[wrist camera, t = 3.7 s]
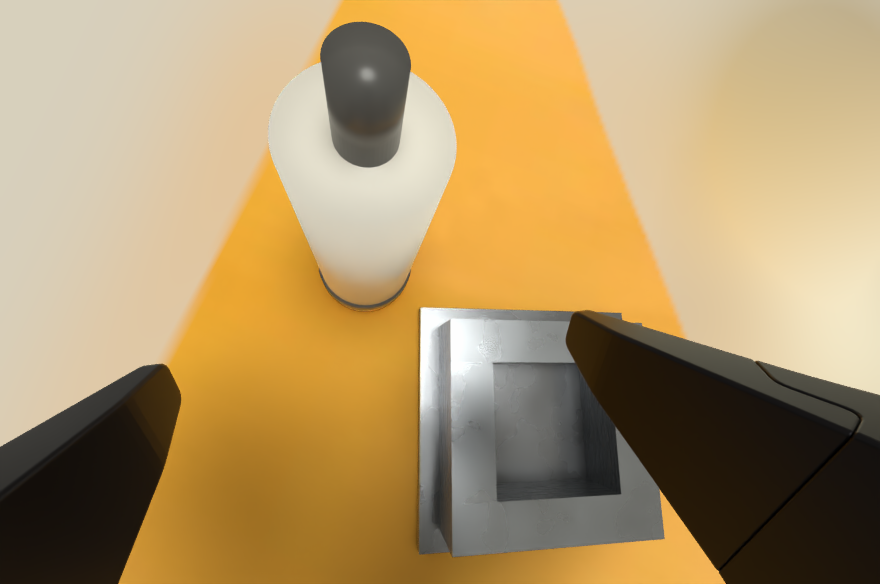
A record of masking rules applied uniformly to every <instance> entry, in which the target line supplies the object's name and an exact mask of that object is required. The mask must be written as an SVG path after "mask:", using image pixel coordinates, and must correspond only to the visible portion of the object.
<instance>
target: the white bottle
mask: <svg viewBox="0 0 880 584" xmlns="http://www.w3.org/2000/svg"><path fill="white" fill-rule="evenodd" d="M320 59H321V62H320V63H318V64H315V65H313V66H311V67H309V68H307V69H306V70H304V71H302V72H301V73H300V74H298V75H297V76H296V77H294V78H293V79H292V80H291V81H290V82H289V83H288V84H287V85H286V87H285V88H284V89H283V90H282V92H281V93H280V94H279V96H278V98H277V100H276V102H275V104H274V106H273V109H272V112H271V115H270V119H269V125H268V142H269V149H270V153H271V156H272V160H273V162H274V165H275V167H276V169H277V172H278V174H279V176H280V179H281V181H282V183H283V185H284V188H285V190H286V192H287V195H288V197H289V199H290V202H291V204H292V206H293V209H294V211H295V213H296V215H297V218H298V220H299V222H300V225H301V227H302V229H303V232H304V234H305V236H306V239H307V241H308V243H309V245H310V248H311V250H312V252H313V255H314V257H315V259H316V262H317V264H318V266H319V272H320V276H321V278H322V281H323V283H324V285H325V287H326V289H327V290H328V292H329V293H330V294H331V296H332V297H333V298H334V299H336V300H337V301H338V302H339V303H341V304H342V305H344V306H346V307H348V308H350V309H353V310H357V311H374V310H378V309H381V308H383V307H385V306H387V305H389V304H390V303H391V302H393V301H394V300H395V299H396V298H397V297H398V296H399V295H400V294H401V292H402V291H403V289H404V287H405V286H406V283H407V281H408V279H409V276H410V271H411V267H412V265H413V262H414V260H415V258H416V255H417V253H418V251H419V248H420V246H421V244H422V241H423V239H424V237H425V234H426V232H427V230H428V227H429V225H430V223H431V220H432V218H433V216H434V213H435V211H436V209H437V206H438V204H439V202H440V199H441V197H442V195H443V192H444V190H445V188H446V185H447V183H448V181H449V178H450V176H451V173H452V170H453V168H454V163H455V158H456V147H457V145H456V135H455V130H454V126H453V123H452V120H451V117H450V115H449V113H448V111H447V109H446V107H445V105H444V104H443V102H442V101H441V99H440V98H439V96H438V95H437V94H436V93H435V92H434V91H433V89H432V88H431V87H430V86H429V85H428V84H426V83H425V82H424V81H423V80H422V79H420V78H419V77H418V76H416V75H415V74H414V73H412V72H410V70H411V61H410V56H409V53H408V51H407V49H406V47H405V45H404V44H403V42H402V41H401V40H400V39H399V38H398V37H397V36H396V35H395V34H394V33H392V32H391V31H390V30H388V29H386V28H384V27H382V26H380V25H377V24H373V23H368V22H352V23H348V24H344V25H342V26H339V27H338V28H336V29H334V30H333V31H332V32H331V33H330V34H329V35H328V36H327V37H326V39H325V40H324V42H323V44H322V48H321V53H320Z"/></svg>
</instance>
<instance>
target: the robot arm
mask: <svg viewBox="0 0 880 584" xmlns="http://www.w3.org/2000/svg"><path fill="white" fill-rule="evenodd" d="M565 342H566V346H567V349H568V351H569V353H570V354H571V356H572V358H573V360H574V362H575V363H576V365H577V367H578V369H579V371H580V373H581V374H582V376H583V378H584V380H585V382H586V383H587V385H588V387H589V389H590V390H591V392H592V394H593V395H594V397H595V398H596V400H597V401H598V402H599V404H600V405H601V407H602V408H603V410H604V411H605V412H606V414H607V415H608V417H609V418H610V419H611V421H612V422H613V424H614V425H615V426H616V428H617V429H618V431H619V432H620V434H621V435H622V436H623V438H624V439H625V441H626V442H627V443H628V445H629V446H630V448H631V449H632V451H633V452H634V453H635V455H636V456H637V458H638V459H639V460H640V462H641V463H642V465H643V466H644V468H645V469H646V470H647V472H648V473H649V475H650V476H651V477H652V479H653V480H654V482H655V483H656V485H657V486H658V487H659V489H660V490H661V492H662V493H663V494H664V496H665V497H666V499H667V500H668V502H669V503H670V504H671V506H672V507H673V509H674V510H675V511H676V513H677V514H678V516H679V517H680V519H681V520H682V521H683V523H684V524H685V526H686V527H687V528H688V530H689V531H690V533H691V534H692V536H693V537H694V538H695V540H696V541H697V543H698V544H699V545H700V547H701V548H702V550H703V551H704V553H705V554H706V555H707V557H708V558H709V560H710V561H711V563H712V564H713V565H714V567H715V568H716V569H717V570H718V571H719V574H720V575H721V577H722V578H723V580H724V581H725V583H726V584H880V395H877V394H874V393H870V392H866V391H862V390H859V389H855V388H851V387H847V386H844V385H840V384H836V383H833V382H829V381H826V380H822V379H818V378H815V377H811V376H807V375H804V374H801V373H797V372H794V371H790V370H787V369H784V368H780V367H777V366H774V365H770V364H767V363H763V362H760V361H755V362H754V361H753V360H751V359H748V358H745V357H742V356H738V355H735V354H732V353H729V352H725V351H722V350H719V349H716V348H712V347H709V346H706V345H702V344H699V343H695V342H692V341H689V340H686V339H683V338H679V337H676V336H673V335H669V334H666V333H663V332H660V331H656V330H653V329H650V328H646V327H643V326H640V325H637V324H633V323H630V322H627V321H623V320H620V319H617V318H613V317H610V316H607V315H604V314H600V313H597V312H594V311H590V310H585V311H577V312H574V313H573V314H572V316H571V319H570V322H569V326H568V330H567V333H566V338H565ZM180 405H181V394H180V390H179V388H178V386H177V384H176V382H175V380H174V378H173V376H172V374H171V372H170V370H169V368H168V367H167V366H166V365H164V364H155V365H147V366H142V367H140V368H138V369H136V370H134V371H132V372H131V373H129V374H127V375H126V376H124V377H122V378H120V379H119V380H117V381H115V382H113V383H111V384H110V385H108V386H106V387H104V388H103V389H101V390H99V391H98V392H96V393H94V394H92V395H90V396H89V397H87V398H85V399H83V400H82V401H80V402H78V403H76V404H75V405H73V406H71V407H70V408H68V409H66V410H64V411H62V412H61V413H59V414H57V415H55V416H54V417H52V418H50V419H49V420H46V421H45V422H43V423H41V424H40V425H38V426H36V427H35V428H32V429H31V430H29V431H27V432H25V433H24V434H22V435H20V436H19V437H17V438H15V439H13V440H12V441H10V442H8V443H6V444H4V445H3V446H1V447H0V584H118V583H119V580H120V578H121V575H122V573H123V570H124V568H125V565H126V563H127V560H128V558H129V555H130V553H131V550H132V548H133V545H134V543H135V540H136V538H137V535H138V533H139V530H140V528H141V525H142V523H143V520H144V517H145V515H146V512H147V510H148V507H149V505H150V502H151V500H152V497H153V495H154V492H155V490H156V487H157V485H158V482H159V480H160V477H161V474H162V472H163V469H164V466H165V463H166V459H167V456H168V452H169V448H170V444H171V440H172V436H173V433H174V429H175V425H176V421H177V417H178V413H179V409H180Z"/></svg>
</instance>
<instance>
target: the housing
mask: <svg viewBox="0 0 880 584" xmlns="http://www.w3.org/2000/svg"><path fill="white" fill-rule="evenodd" d="M573 313H574V312H566V311H530V310H493V309H457V308H420V309H419V427H418V552H419V554H431V553H443V552H450V553H451V555H452V557H460V556H472V555H483V554H495V553H507V552H518V551H530V550H541V549H553V548H565V547H576V546H588V545H599V544H611V543H623V542H634V541H646V540H657V539H664V529H663V520H662V510H661V501H660V491H659V487H658V486H657V485H656V483H655V482H654V480H653V479H652V477H651V476H650V475H649V473H648V472H647V470H646V469H645V468H644V466H643V465H642V463H641V462H640V460H639V459H638V458H637V456H636V455H635V453H634V452H633V451H632V449H631V448H630V446H629V445H628V443H627V442H626V441H625V439H624V438H623V436H622V435H621V434H620V432H619V431H618V429H617V428H616V426H615V425H614V424H613V422H612V421H611V419H610V418H609V417H608V415H607V414H606V412H605V411H604V410H603V408H602V407H601V405H600V404H599V402H598V401H597V400H596V398H595V397H594V395H593V394H592V392H591V390H590V389H589V387H588V385H587V383H586V382H585V380H584V378H583V376H582V374H581V373H580V371H579V369H578V367H577V365H576V363H575V362H574V360H573V358H572V356H571V354H570V353H569V351H568V349H567V346H566V342H565V338H566V333H567V330H568V326H569V322H570V319H571V316H572V314H573ZM597 313H600V314H604V315H607V316H610V317H613V318H617V319H620V320H622V316H621V313H603V312H597ZM633 324H637V325H640V326H642V323H633Z"/></svg>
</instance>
